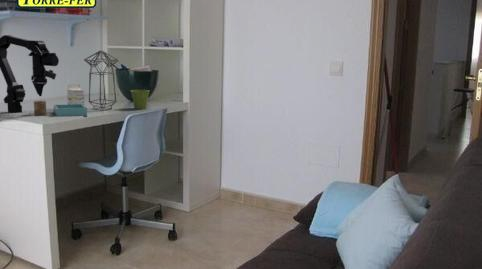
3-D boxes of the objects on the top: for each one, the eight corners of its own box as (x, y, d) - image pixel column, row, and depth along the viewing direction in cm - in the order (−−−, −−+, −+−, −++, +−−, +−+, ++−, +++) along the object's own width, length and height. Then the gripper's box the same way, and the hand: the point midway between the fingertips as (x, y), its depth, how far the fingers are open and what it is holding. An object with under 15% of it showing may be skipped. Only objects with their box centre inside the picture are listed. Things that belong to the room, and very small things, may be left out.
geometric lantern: (121, 109, 291) (120, 51, 284) (103, 112, 278) (102, 51, 270) (101, 106, 298) (100, 49, 291) (82, 109, 284) (81, 50, 277)
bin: (57, 118, 250) (56, 108, 249) (53, 113, 263) (53, 104, 262) (86, 117, 257) (86, 107, 256) (82, 113, 270) (82, 104, 269)
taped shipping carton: (35, 115, 249) (34, 102, 248) (34, 113, 254) (33, 100, 253) (46, 115, 252) (45, 101, 251) (45, 113, 257) (44, 100, 255)
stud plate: (30, 118, 246) (30, 107, 246) (29, 115, 255) (29, 105, 254) (51, 117, 251) (51, 107, 250) (49, 114, 260) (49, 104, 259)
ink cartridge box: (72, 110, 280) (71, 84, 277) (67, 109, 283) (66, 84, 281) (85, 108, 287) (84, 84, 284) (80, 107, 290) (79, 83, 287)
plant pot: (143, 106, 305) (143, 89, 303) (153, 109, 296) (153, 91, 294) (126, 108, 297) (126, 89, 295) (136, 110, 288) (136, 91, 286)
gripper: (57, 66, 244) (58, 97, 247) (52, 64, 260) (53, 93, 263) (33, 66, 239) (34, 97, 242) (30, 64, 255) (31, 93, 258)
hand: (39, 95), depth 251 cm, fingers open, 9 cm apart
